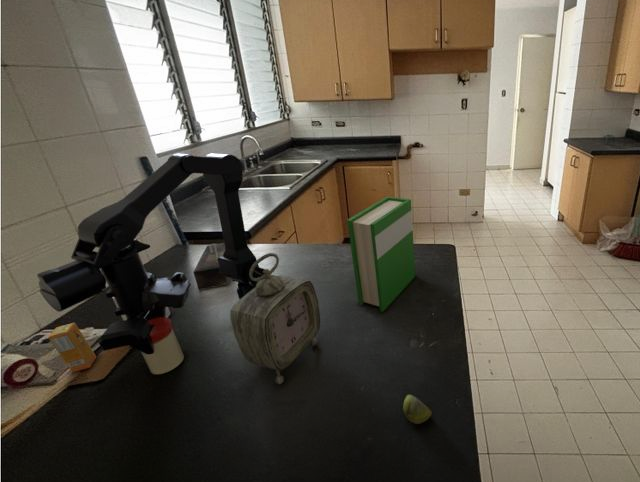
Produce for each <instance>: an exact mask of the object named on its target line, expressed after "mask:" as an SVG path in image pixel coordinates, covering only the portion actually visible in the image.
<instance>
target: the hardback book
mask: <svg viewBox="0 0 640 482" xmlns="http://www.w3.org/2000/svg"><path fill="white" fill-rule="evenodd" d="M346 221H347V229H348V235H349V242H350V249H351V256H352V263H353V265H352V266H353V270H354V279H355V286H356V292H357V300H358V305H360V306H363V305H364V304H369V305H372V306H376V307H378V308H379V311H380V312H382V313H383V312H384V311H385V310H386V309H387V308H388V307H389V306H390V305H391V304H392V303H393V302H394V300H395V299H397V297H398V296H399V295H400V294H401V293H402V292H403V291H404V289H405V288H406V287H408V285H409V284H410V283H411V282H412V281H413V280H414V278H416V264H415V262H416V261H415V246H414V230H413V212H412V199H410V198H402V197H396V196H387V195H386V197H384V198H382V199H380V200H378V201H377V202H375V203H373V204H372V205H370V206H369V207H366V208H365V209H363V210H362V211H360V212H358V213H356V214H355V215H352V216H351V217H350V218H348V219H347V220H346Z"/></svg>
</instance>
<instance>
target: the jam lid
mask: <svg viewBox="0 0 640 482" xmlns="http://www.w3.org/2000/svg"><path fill="white" fill-rule="evenodd" d="M148 322H149V324H150V325H152V324H155V326H154V327H153V329H152V331H151V332H150V336H151V339H152V343H155V342H157V341H159V340H161V339H163V338H165V337H166V336H167V335H168V334H169V333H170V332H171V331H172V329H173V328H174V326H173V322H172V320H171V319H170V318H169V317H168V318H167V317H159V318H154V319H151V320H148ZM173 330H174V329H173Z"/></svg>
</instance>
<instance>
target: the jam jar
mask: <svg viewBox="0 0 640 482" xmlns="http://www.w3.org/2000/svg"><path fill="white" fill-rule="evenodd" d="M153 347H154V353H153V354H149V355H147V354H145V353H143V352H141V351H140V353H141V356H142V357H143V359H144V362H145V364H146V365H147V367H148V370H149V372H150V373H151V374H153V375H163V374H165V373H168V372H171V371H172V370H175V368H176V369H177V367H179V365H180V364H182V362H183V361H184V359H185V355H184V352H183V349H182V347H181V345H180V343H179V341H178V338H177V335H176V333H175V331H174V329H172V331H171V332H170V333H169V334H168V335H167V336H166V337H165V338H163V339H161V340H159V341H157V342H155V343H153Z"/></svg>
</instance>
